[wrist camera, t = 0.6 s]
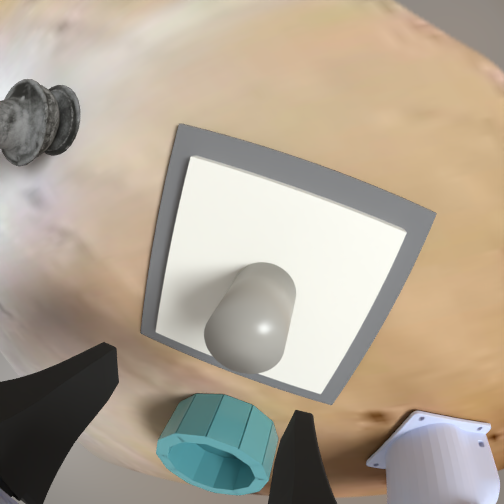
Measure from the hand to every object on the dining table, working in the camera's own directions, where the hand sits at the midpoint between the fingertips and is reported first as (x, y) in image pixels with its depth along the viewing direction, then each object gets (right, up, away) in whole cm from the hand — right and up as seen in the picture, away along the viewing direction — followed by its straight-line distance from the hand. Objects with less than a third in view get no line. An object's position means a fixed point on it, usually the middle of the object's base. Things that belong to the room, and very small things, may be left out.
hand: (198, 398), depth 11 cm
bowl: (0, -10, +14) cm, 17 cm away
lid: (+3, +3, +8) cm, 9 cm away
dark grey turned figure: (-12, +15, +8) cm, 21 cm away
